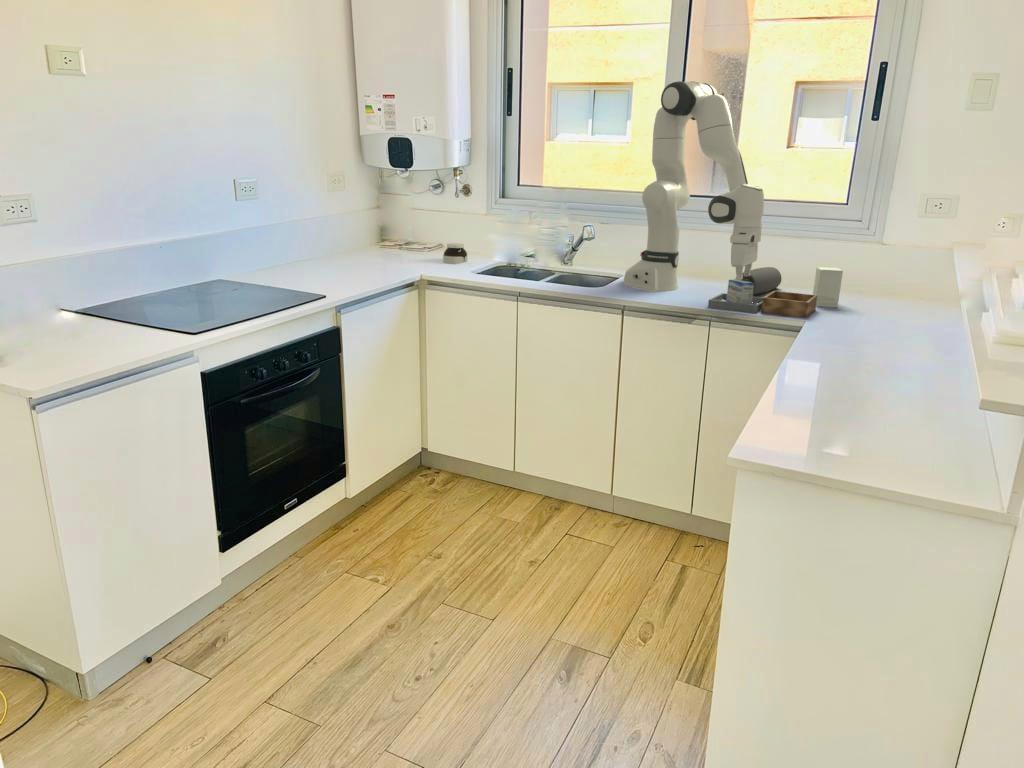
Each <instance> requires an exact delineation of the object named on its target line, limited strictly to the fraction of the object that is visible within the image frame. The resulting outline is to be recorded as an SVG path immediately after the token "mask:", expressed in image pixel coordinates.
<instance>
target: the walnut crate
mask: <svg viewBox="0 0 1024 768" xmlns="http://www.w3.org/2000/svg"><path fill="white" fill-rule="evenodd" d="M762 298H763V301H762V310H761V311H760V313H761V314H770V315H776V316H783V317H792V318H802V319H807V318H809V317H810V316H811V315H812V314H813V313H814V312H815V311H816V310H817V309H816V308H817V306H816V302H817V295H813V294H810V293H809V294H808V293H799V292H791V291H790V292H789V291H779V290H773V291H771V292H769V293H767V294H766V295H764V296H763V297H762Z"/></svg>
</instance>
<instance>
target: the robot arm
mask: <svg viewBox="0 0 1024 768" xmlns="http://www.w3.org/2000/svg"><path fill="white" fill-rule="evenodd" d="M660 97H661V98H660V103H661V104H660V105H661V107H659V109H657V111H656V114H655V119H654V123H653V129H652V130H653V132H652V147H651V148H652V150H651V151H652V152H651V163H652V165H653V167H654V171H655V176H656V180H655V181H653V182H651V183H650V184H648V185H646V187H645V188H644V189H643V191H642V204H643V205H644V207H645V214H646V217H647V218H646V220H647V242H646V243H647V245H646V249H644V250H643V251H642V252H640V256H641V259H640V260H639V261H638V262H636V263H635V264H633V265H632V266H631V267H629V268H628V269H627V270H626V271H625V273H624V276H623V281H622V285H624V286H626V287H627V288H632V289H635V290H641V291H645V292H650V293H651V292H654V293H655V292H672V291H677V290H679V283H678V271H677V270H678V269H677V268H678V265H679V259H680V258H679V257H680V255H679V253H680V252H679V251H678V250H679V239H680V226H679V225H678V219H677V211H679V210H680V209H682V208H684V206H686V205H687V203H688V202H689V200H690V197H691V193H690V192H691V191H690V189H689V186H688V182H687V174H686V166H685V147H686V146H685V145H686V126H687V123H688V122H689V120H690V119H691V120H692V121H696V126H697V127H696V128H697V135H698V143H699V146H700V149H701V152H702V153H703V154H704V155H705V156H706V157H707V158H709V159H711V160H713V161H714V162H716V163H717V164H719V165H720V167H722V169H723V170H724V173H725V177H726V180H727V185H728V189H729V192H725V193H721V194H719V195H716V196H714V197H713V198H711V200H710V202H709V204H708V206H707V207H708V209H707V210H708V211H707V213H708V217H709V218H710V220H711V221H712V222H714V223H716V224H720V225H732V224H733V228H732V229H733V230H732V233H731V236H730V237H729V242H730V243H731V247H730V263H731V267H732V268H735V273H736V274H735V275H736V276H735V278H736V279H737V280H742V279H743V272H744V276H746V277H748V276H750V271H751V270H752V267H753V263H755V262H756V261H757V260H758V250H759V249H758V247H759V243H760V242H761V238H762V231H763V230H762V229H763V224H762V217H763V216H764V208H765V203H764V202H765V193H764V191H763V188H762V187H760V185H754V184H749V183H748V178H747V174H746V170H745V166H744V165H745V164H744V161H743V158H742V154H741V151H740V150H739V148H738V145H737V142H736V138H735V133H734V129H733V121H732V116H731V111H730V109H729V105H728V102H727V99H726V98H725V97H724V96H723V95H720V94H718V92H717V89H716V88H715V87H714V86H712V85H711V84H708V83H706V82H698V81H679V80H678V81H674V82H672V83H671V82H670V83H669V84H667V85H666V86H665V87H664V88H663V90H662V93H661V96H660ZM640 256H639V257H640ZM743 270H744V271H743Z"/></svg>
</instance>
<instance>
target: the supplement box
mask: <svg viewBox="0 0 1024 768" xmlns="http://www.w3.org/2000/svg"><path fill="white" fill-rule="evenodd" d="M843 272H844V270H842V269H840V268H839V267H827V266H826V267H822V266H821V267H818V266H817V267H816V270H815V276H814V277H815V278H814V284H813V290H812V291H813V292H812V295H817V302H816V307H818V306H823V307H822V308H834V307H837V308H838V305H839V299H840V293H841V287H842V279H843Z"/></svg>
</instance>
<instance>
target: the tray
mask: <svg viewBox="0 0 1024 768" xmlns="http://www.w3.org/2000/svg"><path fill="white" fill-rule="evenodd" d="M723 298H724V299H723ZM726 299H727V292H726V293H725V292H724V293H723V292H722V293H720V294H718V295H715V296H713V297H712V298H709V299H708V304H707V308H710V307H712V308H711V309H718V308H721V309H720V310H726V309H728V311H736V312H743V313H751V314H752V313H753V314H758V313H760V312H761V311H760V310H762V301H763V297H760V296H754V295H753V296H752V302H753V303H758V304H753V303H751V304H744V303H735V302H727V301H726Z"/></svg>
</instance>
